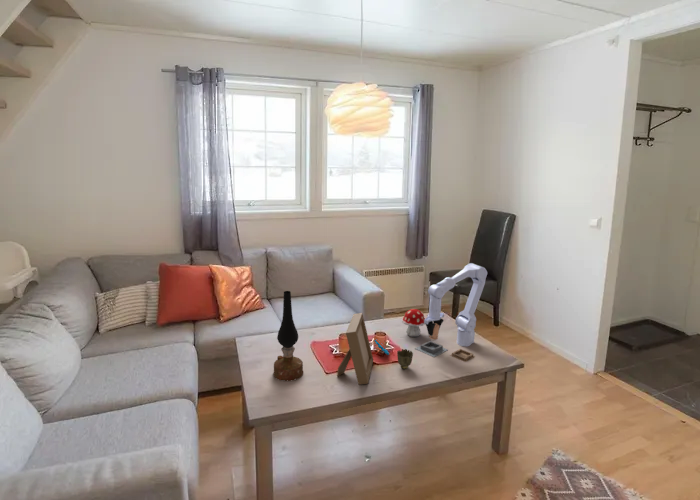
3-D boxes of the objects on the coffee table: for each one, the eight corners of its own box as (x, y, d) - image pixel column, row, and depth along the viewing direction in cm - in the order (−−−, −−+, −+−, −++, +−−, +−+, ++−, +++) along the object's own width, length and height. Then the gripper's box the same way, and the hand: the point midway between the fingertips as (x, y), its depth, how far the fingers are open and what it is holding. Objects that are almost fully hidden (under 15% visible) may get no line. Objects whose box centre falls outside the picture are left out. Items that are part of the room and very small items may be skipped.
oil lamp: (303, 386, 188) (320, 307, 176) (269, 383, 185) (284, 303, 173) (301, 367, 201) (317, 292, 189) (269, 365, 198) (283, 288, 186)
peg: (432, 334, 218) (433, 322, 216) (439, 337, 215) (441, 325, 213) (427, 337, 214) (429, 324, 212) (435, 340, 212) (436, 327, 210)
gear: (391, 355, 208) (377, 341, 207) (382, 364, 208) (368, 350, 207) (388, 348, 219) (375, 335, 218) (380, 356, 219) (366, 343, 218)
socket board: (428, 343, 225) (429, 338, 224) (447, 351, 217) (448, 346, 216) (414, 350, 217) (415, 344, 216) (433, 359, 209) (434, 353, 208)
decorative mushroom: (428, 332, 240) (430, 307, 236) (421, 341, 227) (423, 315, 224) (405, 327, 245) (406, 303, 242) (397, 336, 233) (398, 311, 230)
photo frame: (373, 361, 205) (374, 313, 199) (368, 385, 184) (368, 332, 178) (343, 359, 207) (343, 311, 201) (334, 382, 186) (334, 330, 180)
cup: (402, 373, 194) (403, 357, 193) (393, 366, 201) (394, 350, 199) (415, 369, 198) (416, 354, 196) (406, 362, 204) (407, 347, 202)
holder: (459, 351, 217) (459, 347, 216) (475, 358, 210) (475, 354, 210) (449, 357, 211) (449, 353, 210) (465, 363, 204) (465, 359, 204)
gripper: (436, 302, 219) (435, 327, 222) (419, 309, 209) (418, 334, 212) (448, 306, 214) (446, 331, 217) (431, 313, 204) (429, 339, 207)
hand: (433, 333), depth 214 cm, fingers closed on peg, 4 cm apart
